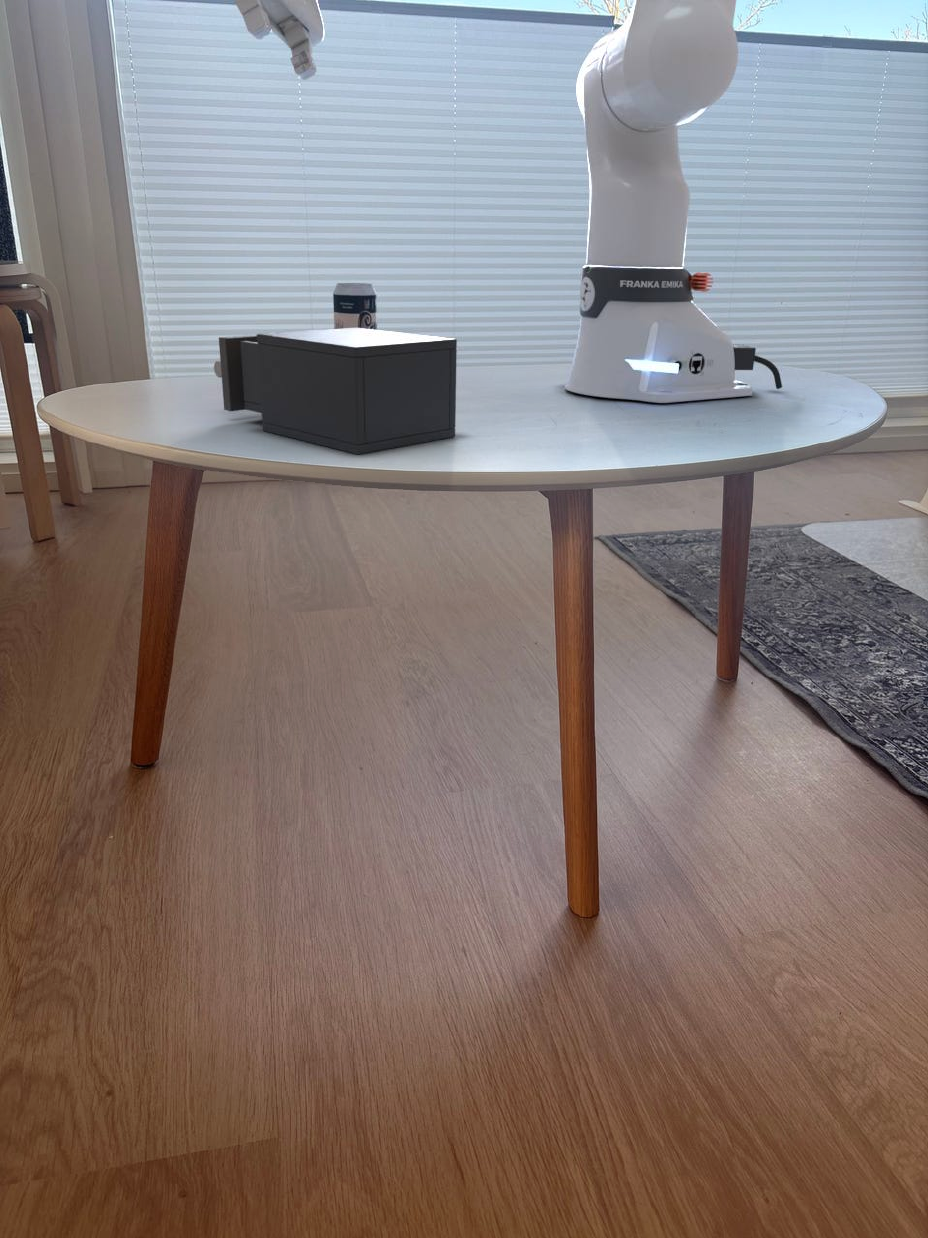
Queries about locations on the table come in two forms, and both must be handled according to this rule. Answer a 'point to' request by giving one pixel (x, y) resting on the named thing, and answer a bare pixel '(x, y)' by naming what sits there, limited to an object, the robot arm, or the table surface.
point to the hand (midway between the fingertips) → (285, 54)
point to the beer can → (355, 306)
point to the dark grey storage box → (358, 387)
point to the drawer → (239, 373)
